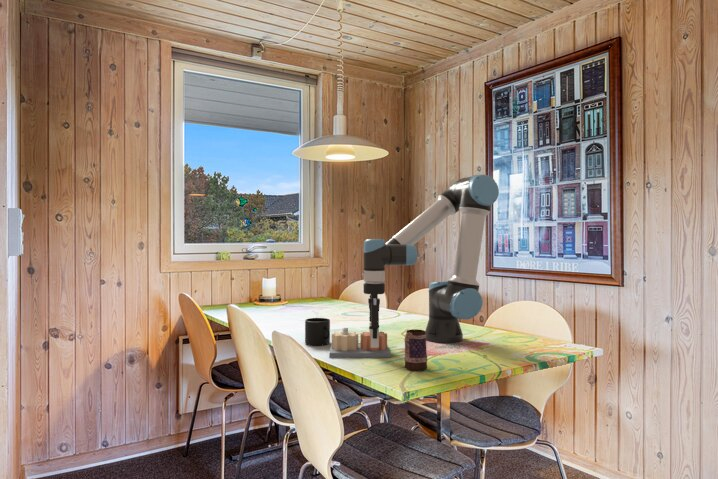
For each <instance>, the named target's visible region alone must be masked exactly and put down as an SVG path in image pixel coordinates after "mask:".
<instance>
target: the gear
mask: <svg viewBox="0 0 718 479" xmlns="http://www.w3.org/2000/svg"><path fill="white" fill-rule="evenodd" d="M359 343H360V348H363V350H372V351H377V350H385V348H387V345H388V333H386V332H384V331H379V348H371V332H369V331H362V333H360V342H359Z"/></svg>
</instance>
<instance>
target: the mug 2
mask: <svg viewBox="0 0 718 479" xmlns="http://www.w3.org/2000/svg"><path fill="white" fill-rule="evenodd" d="M404 368H405V369H406V370H408V371H413V372H422V371H423V372H424V371H425V370H427V369H428V355H427V340H426V332H425V330H424V329H415V328H414V329H407V330H406V332H405V335H404Z"/></svg>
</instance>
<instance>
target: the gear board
mask: <svg viewBox="0 0 718 479" xmlns="http://www.w3.org/2000/svg"><path fill="white" fill-rule="evenodd" d="M341 330H342V331H334V333H333V332H331V342H330V349H329V353H328V355H329V358H391V351H390V348H389V345H388V344H387V348H385V350H377V351H372V350H363V348H360V342H359V332H356V331H349V327H342V329H341Z"/></svg>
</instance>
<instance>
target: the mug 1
mask: <svg viewBox="0 0 718 479" xmlns="http://www.w3.org/2000/svg"><path fill="white" fill-rule="evenodd" d="M304 323H305V324H304V332H305V333H304V343H305V344H306V345H307V346H312V347H321V346H327V345H329V344H331V342H330V341H331V320H330V319H329V318H325V317H310V318H306V319H305V320H304Z"/></svg>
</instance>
